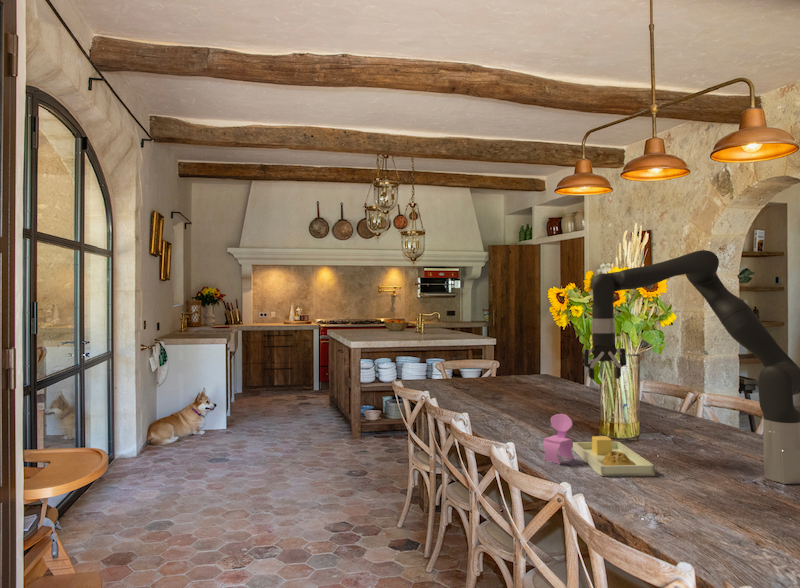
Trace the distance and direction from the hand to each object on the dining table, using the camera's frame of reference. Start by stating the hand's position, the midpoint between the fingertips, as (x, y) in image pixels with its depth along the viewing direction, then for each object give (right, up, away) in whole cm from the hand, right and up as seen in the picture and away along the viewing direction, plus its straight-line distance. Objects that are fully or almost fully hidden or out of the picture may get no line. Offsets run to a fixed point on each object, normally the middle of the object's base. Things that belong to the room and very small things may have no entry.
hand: (604, 378), depth 193 cm
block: (-2, -25, -2) cm, 25 cm away
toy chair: (-18, -26, -7) cm, 32 cm away
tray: (-2, -26, -10) cm, 28 cm away
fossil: (-3, -25, -19) cm, 31 cm away
